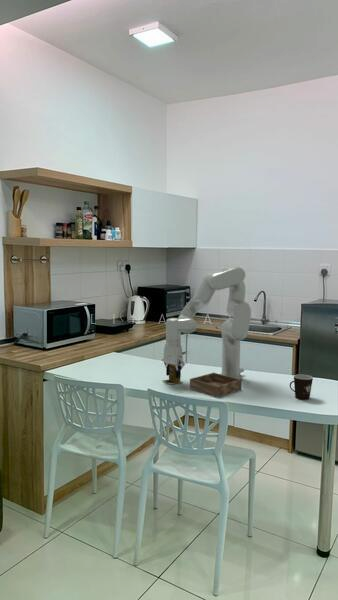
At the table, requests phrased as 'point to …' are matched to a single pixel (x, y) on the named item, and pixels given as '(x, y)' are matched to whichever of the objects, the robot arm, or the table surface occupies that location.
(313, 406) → the table surface
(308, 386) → the coffee mug
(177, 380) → the condiment
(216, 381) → the crate
